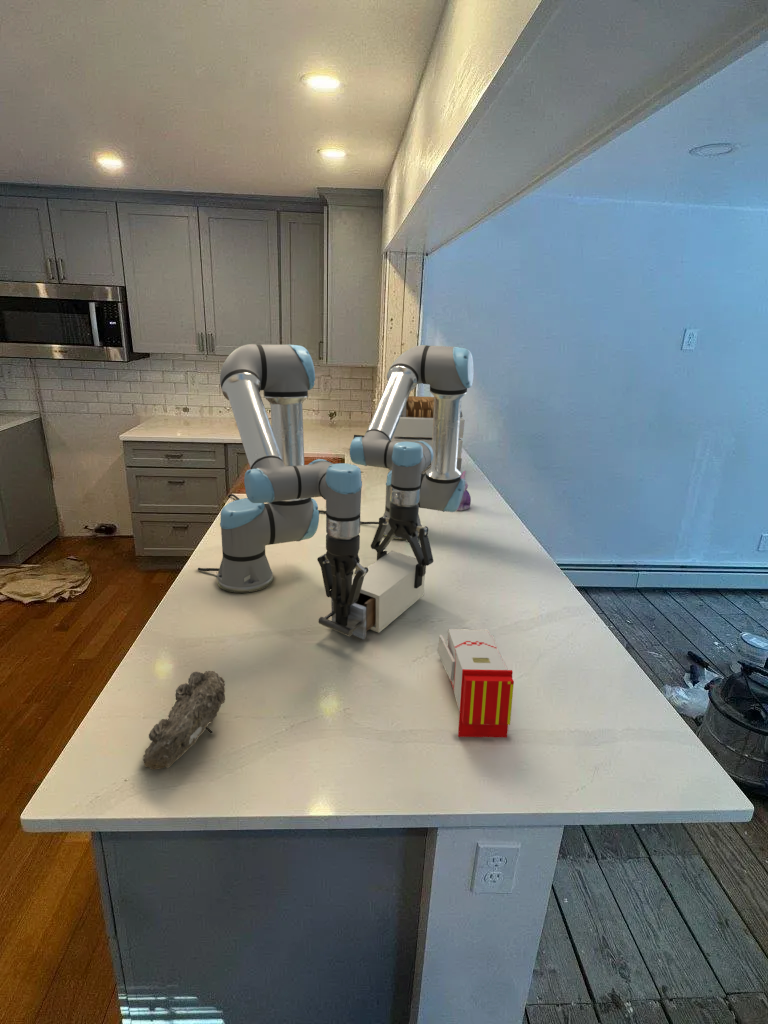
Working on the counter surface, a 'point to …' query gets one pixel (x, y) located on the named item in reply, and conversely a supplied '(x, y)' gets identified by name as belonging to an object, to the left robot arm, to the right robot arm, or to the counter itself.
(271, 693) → the counter surface
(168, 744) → the fossil
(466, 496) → the figurine
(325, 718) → the counter surface
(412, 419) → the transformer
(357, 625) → the drawer
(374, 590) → the cabinet
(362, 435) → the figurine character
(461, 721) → the white and red box
